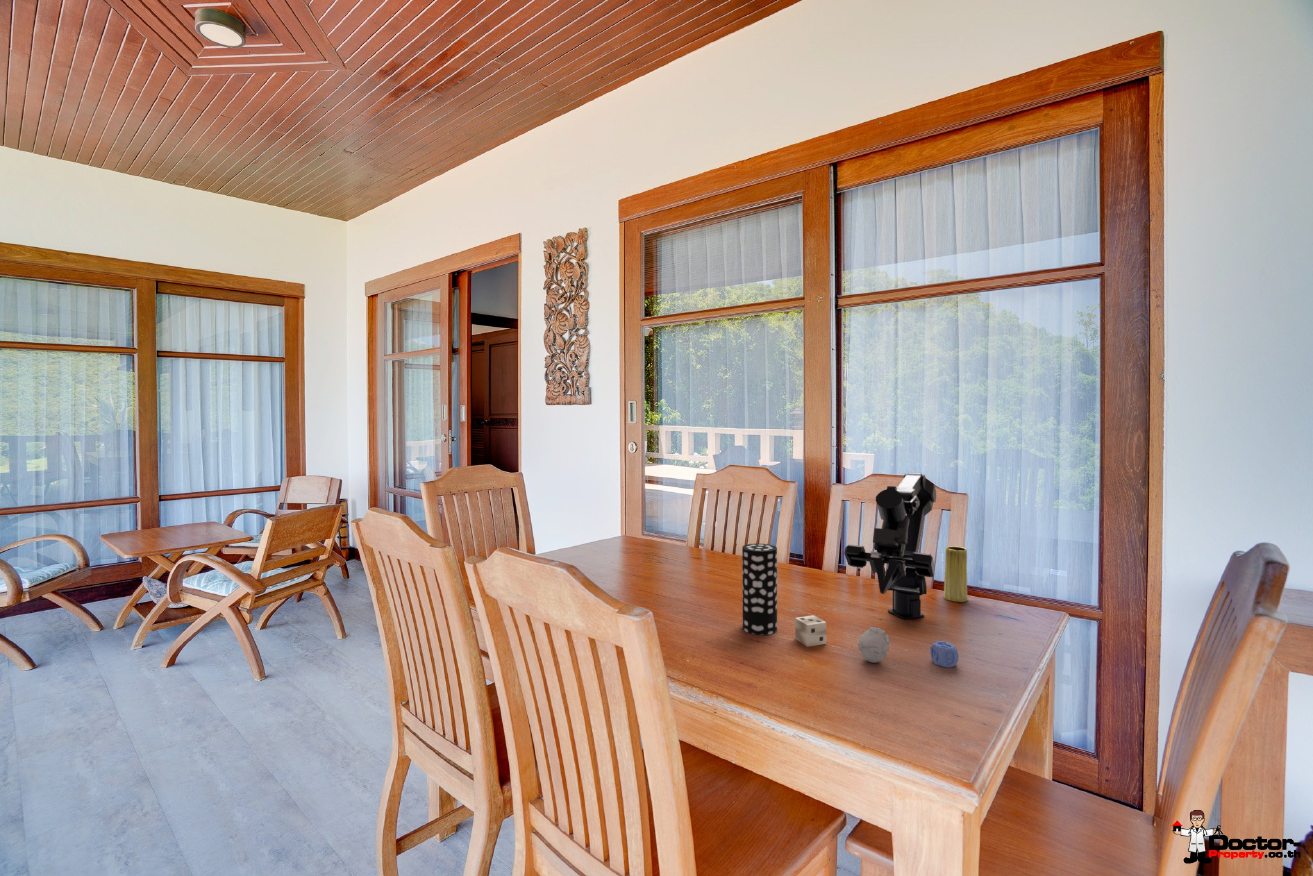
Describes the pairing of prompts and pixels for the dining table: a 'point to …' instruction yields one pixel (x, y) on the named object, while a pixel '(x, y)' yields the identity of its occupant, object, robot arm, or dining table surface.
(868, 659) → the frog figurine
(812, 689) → the dining table surface
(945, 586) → the vase
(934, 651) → the decorative dice
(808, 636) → the birch pip block
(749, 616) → the white-spotted black cylinder
